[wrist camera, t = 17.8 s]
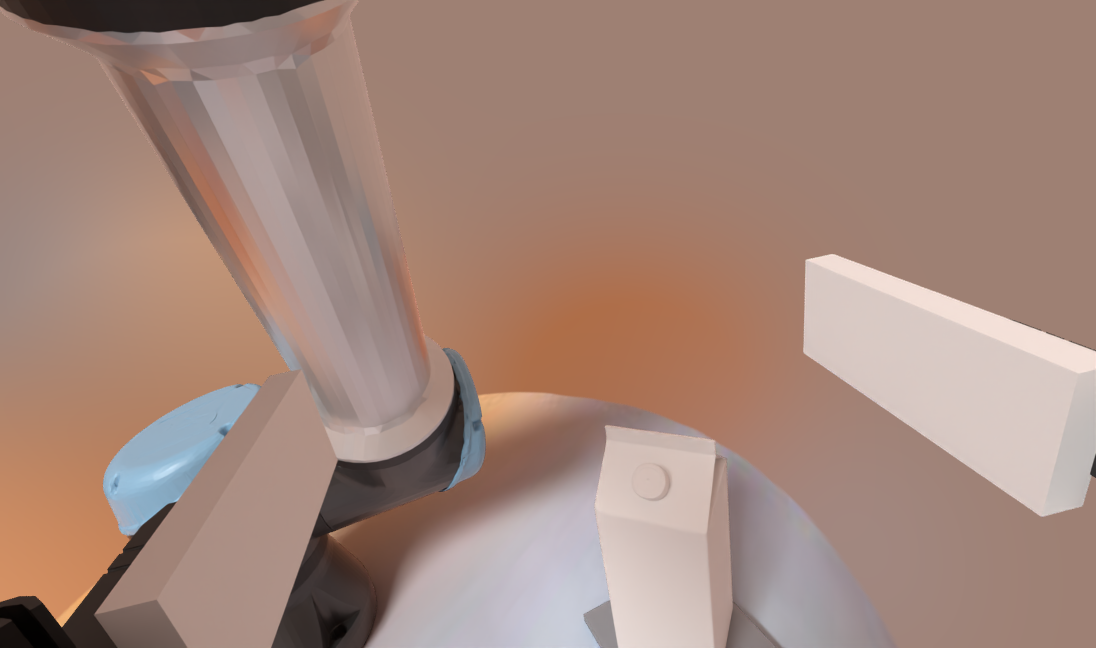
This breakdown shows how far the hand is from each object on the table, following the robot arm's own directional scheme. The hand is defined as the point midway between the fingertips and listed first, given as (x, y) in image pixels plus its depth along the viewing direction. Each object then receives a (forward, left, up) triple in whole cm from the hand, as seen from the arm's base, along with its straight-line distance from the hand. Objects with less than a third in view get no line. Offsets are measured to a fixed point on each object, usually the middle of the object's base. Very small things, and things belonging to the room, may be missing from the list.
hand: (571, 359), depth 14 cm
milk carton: (-13, +10, -33) cm, 37 cm away
